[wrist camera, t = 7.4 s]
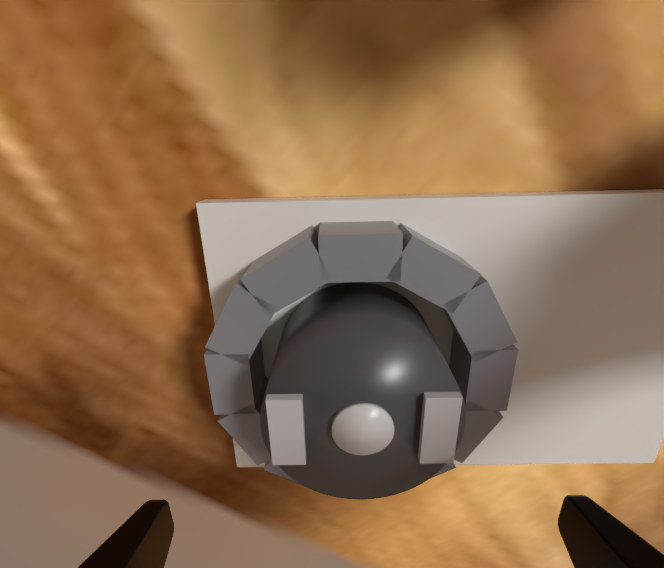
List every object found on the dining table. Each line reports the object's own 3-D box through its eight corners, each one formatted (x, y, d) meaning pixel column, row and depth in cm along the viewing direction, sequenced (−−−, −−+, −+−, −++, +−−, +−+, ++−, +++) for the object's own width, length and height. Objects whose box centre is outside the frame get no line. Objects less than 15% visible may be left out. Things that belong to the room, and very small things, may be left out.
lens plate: (729, 187, 13) (841, 197, 10) (636, 445, 17) (696, 504, 14) (205, 199, 13) (170, 212, 10) (242, 450, 17) (224, 508, 14)
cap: (436, 280, 13) (482, 339, 9) (424, 411, 15) (457, 505, 11) (273, 283, 13) (247, 343, 9) (285, 413, 15) (267, 507, 11)
